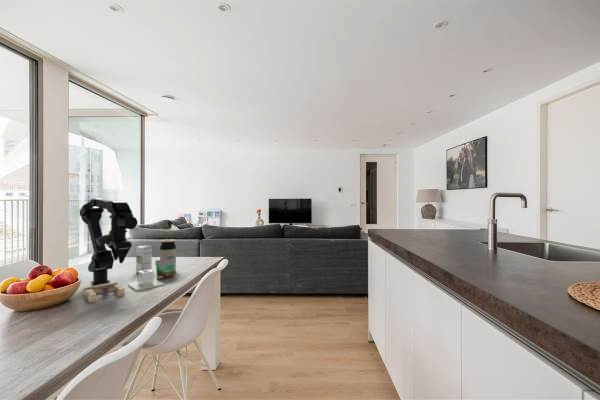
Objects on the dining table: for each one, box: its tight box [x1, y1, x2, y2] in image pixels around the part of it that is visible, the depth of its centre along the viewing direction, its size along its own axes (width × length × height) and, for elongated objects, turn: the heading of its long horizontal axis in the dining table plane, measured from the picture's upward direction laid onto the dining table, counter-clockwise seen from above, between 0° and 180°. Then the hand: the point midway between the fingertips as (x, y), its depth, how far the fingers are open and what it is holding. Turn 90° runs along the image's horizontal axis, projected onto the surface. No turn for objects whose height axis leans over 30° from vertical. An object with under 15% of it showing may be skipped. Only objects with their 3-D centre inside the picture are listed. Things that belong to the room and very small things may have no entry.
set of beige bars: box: [83, 281, 125, 303], centre depth 119 cm, size 13×12×4 cm
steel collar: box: [137, 269, 155, 286], centre depth 132 cm, size 5×5×6 cm
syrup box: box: [135, 245, 153, 273], centre depth 158 cm, size 6×6×14 cm
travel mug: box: [159, 238, 177, 273], centre depth 157 cm, size 8×8×18 cm
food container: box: [154, 256, 177, 280], centre depth 146 cm, size 12×6×10 cm, turn 168°
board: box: [127, 278, 165, 292], centre depth 132 cm, size 12×12×1 cm
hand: (118, 261), depth 129 cm, fingers open, 9 cm apart
